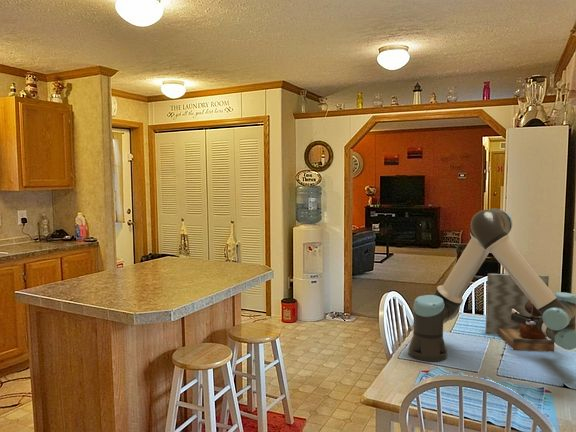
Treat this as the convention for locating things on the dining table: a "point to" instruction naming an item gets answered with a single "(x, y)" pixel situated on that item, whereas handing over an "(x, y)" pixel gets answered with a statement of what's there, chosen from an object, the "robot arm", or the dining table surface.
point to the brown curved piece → (531, 330)
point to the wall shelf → (499, 309)
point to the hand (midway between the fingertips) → (529, 312)
